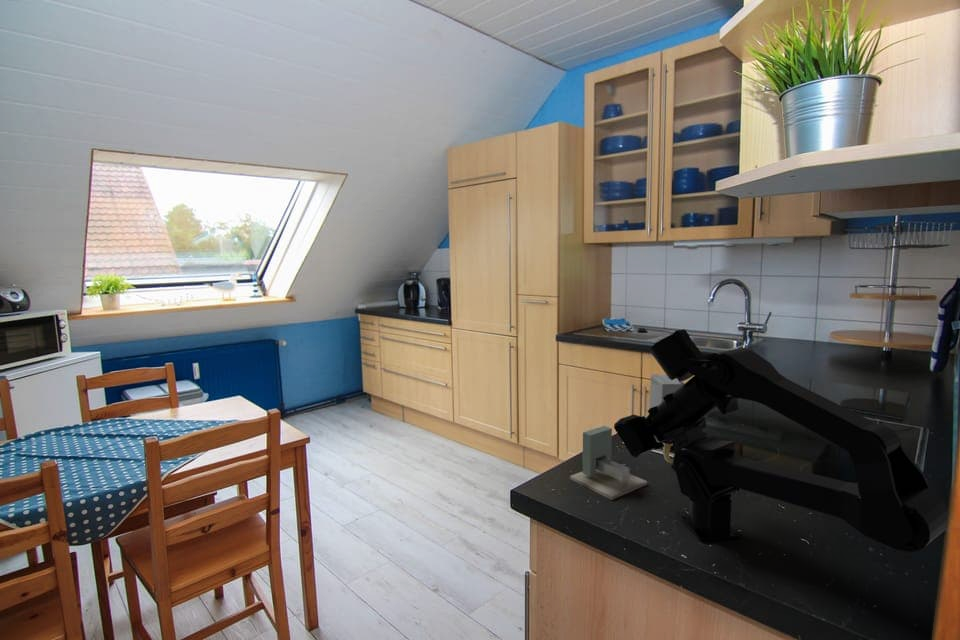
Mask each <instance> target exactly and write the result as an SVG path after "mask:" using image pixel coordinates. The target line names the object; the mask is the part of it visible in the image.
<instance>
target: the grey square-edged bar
mask: <svg viewBox="0 0 960 640" xmlns="http://www.w3.org/2000/svg"><path fill="white" fill-rule="evenodd" d="M581 455H582V457H581V459H582V461H581V463H582V464H583V453H582V454H581ZM596 470H598V471H601V472H603V473H605V474H607V475H610V476H612V477H614V478H616V479H618V485H619V486H621V487H626V486H627V480H628V479H629V474H630V468H629V467H628V466H626V465H622V464H620V463H619V462H616V461H614V460H612V459H611V460H609V459H607V458H604V457H602V456H601V457H599V458H596Z"/></svg>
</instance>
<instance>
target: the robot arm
mask: <svg viewBox="0 0 960 640" xmlns="http://www.w3.org/2000/svg"><path fill="white" fill-rule="evenodd" d="M649 352H650V354H651V355H652V357H653V358H654V359H655V360H656V362H657V364H658V365H659V366H660V367H661V369H662V371H663V372H664V373H665V375H667V376H668V378H669V379H671V380H673V379H676V378H677V379H678V381H679V382H682V381H683V382H684V381H686V382H684V383H685V384H684V385H683V386H681V387H680V388H679V389H678V390H677V391H675V392H674V393H671V394H667V395H666V396H664V397H663V399H664V400H665V401H663V402H662V403H661V404H660V405H659V406H655V407H652V408H650V409H649V408H648V410H647V412H648V415H647V417H645V415H642V416H640V415H636V414H631V415H627V416H625V417H621V418H619V420H617V421H616V422H615V423H614V425H613V429H614V430H615V432H616V433H617V435H618V436H619V438H620V440H621V441H622V443H623V444H624V446H625V447H626V449H627V451H628V452H629V454H630V455H631V456H632V457H633V458H635V459H637V458H639V457H642V456H644V455H647V454H648V453H650V452H652V451H653V450H654V451H656V450H659V449H661V448H662V449H663V447H664V445H663V443H666V444H672V443H673V446H672V447H673V449H674V451H675V452H674V455H673V458H672V459H673V463H674V464H673V467H674V470H675V474H676V477H677V481H678V485H679V489H680V493H681V495H684V496H685V497H687V498H688V499H689V501H690V503H689V505H690V506H689V515H682V516H680V520H681V522H682V523H683V524H684V525H685V526H686V527H687V528H688V529H689V531H690V532H691V533H692V534H693V535H694V536H695V537H696V538H697V539H698V540H699V541H702V542H705V541H706V542H707V541H716V540H717V541H719V540H720V541H721V540H733V539H734V540H735V539H739V538H740V536H741V535H740V533H739V532H738V531H737V530H736V529H734V527H732V525H731V523H732V508H733V507H732V505H733V500H732V494H734V493H736V492H739V491H741V490H743V491H746V492H749V493H754V494H756V495H759V496H764V497H767V498H771V499H774V500H776V501H777V500H778V501H781V502H784V503H787V504H790V505H794V506H797V507H801V508H804V509H806V510H811V511H814V512H817V513H820V514H824V515H827V516H831V517H834V518H838V519H840V520H842V521H843V522H845V524H847V525H848V526H849V527H851V528H852V529H853V530H855V531H856V532H857V533H858V534H860V535H861V536H863V537H865V538H868V539H870V540H871V541H874V542H876V543H878V544H881V545H882V546H885V547H887V548H889V549H891V550H895V551H897V552H901V553H908V554H909V553H910V554H911V553H915V552H918V551H920V550H922V549H925V548H926V547H927V546H928V545H929V544H930V543H932V541H934V540H935V539H936V538H938V537H939V536H940V535H941V534H942V533H943V532H944V531H946V529H947V528H946V523H947V516H948V511H949V509H948V507H947V505H946V503H945V502H944V501H943V500H942V499H941V498H940V497H939V495H937V494H936V492H934V490H933V489H932V487H931V485H930V484H929V481H928V479H927V477H926V476H925V474H924V472H923V471H922V469H921V468H920V467H919V466H918V465H917V463H916V462H915V461H914V460H913V458H912V457H911V456H910V455H909V454H908V453H907V451H906V450H905V448H904V446H903V444H902V442H901V439H900V438H899V436H898V435H897V433H896V432H895V431H894V430H893V429H892V428H891V427H890V426H887V425H884V424H880V423H877V422H874V421H872V420H871V419H868V418H867V417H864V416H862V415H861V414H858V413H857V412H854V411H852V410H850V409H848V408H847V407H845V406H842V405H840V404H838V403H836V402H834V401H833V400H830V399H828V398H826V397H824V396H822V395H821V394H818V393H816V392H814V391H812V390H810V389H808V388H806V387H804V386H802V385H801V384H798V383H796V382H794V381H792V380H790V379H788V378H787V377H785V376H783V374H781V373H780V372H779V371H778V370H777V369H776V368H775V366H774V365H773V364H772V363H771V362H770V361H768V360H767V359H765V358H764V357H762V356H761V355H759V354H758V353H756V352H755V351H753V350H752V349H750V348H747V347H739V348H733V349H728V350H724V351H718V352H713V353H709V354H703V353H702V352H701V349H699V347H698V346H697V345H696V344H695V342H694V340H692V338H691V337H690V334H689V333H688V331H687V330H686V329H678V330H675V331H674V332H673V333H672V334H669V335H668V336H665V337H664V338H663V339H661V340H658V341H656V342H655V343H653V345H652V346H651V347H650V349H649ZM738 399H740V400H746V401H751V402H756V403H758V404H761V405H764V406H765V407H767V408H768V409H771V410H772V411H774V412H776V413H778V414H779V415H781V416H783V417H784V418H786V419H788V420H790V421H792V422H794V423H795V424H798V425H799V426H800V427H803V428H804V429H805V430H808V431H809V432H811V433H813V434H815V435H817V436H819V437H820V438H822V439H823V440H826V441H828V442H829V443H831V444H833V445H835V446H837V447H838V448H840V449H841V450H844V451H845V452H847V453H848V454H849V456H850V458H851V461H852V463H853V466H854V471H855V477H856V482H848V481H844V480H839V479H835V478H831V477H827V476H823V475H819V474H816V473H811V472H807V471H804V470H803V471H802V470H798V469H794V468H790V467H786V466H782V465H781V466H780V465H778V464H773V463H769V462H765V461H762V460H761V461H760V460H756V459H752V458H749V457H744V456H742V455H741V454H739V452H738V451H736V449H735V447H736V446H735V445H736V442H735V441H734V440H723V439H720V438H719V437H718V436H714V435H712V434H708V433H707V432H706V431H703V430H704V429H706V428H707V426H706V425H707V420H706V417H707V416H708V415H709V414H711V413H712V412H714V411H715V410H717V409H718V410H719V412H720V413H721V415H725V416H726V415H729V414H732V413H737V412H738V411H739V403H738ZM662 442H663V443H662Z"/></svg>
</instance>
